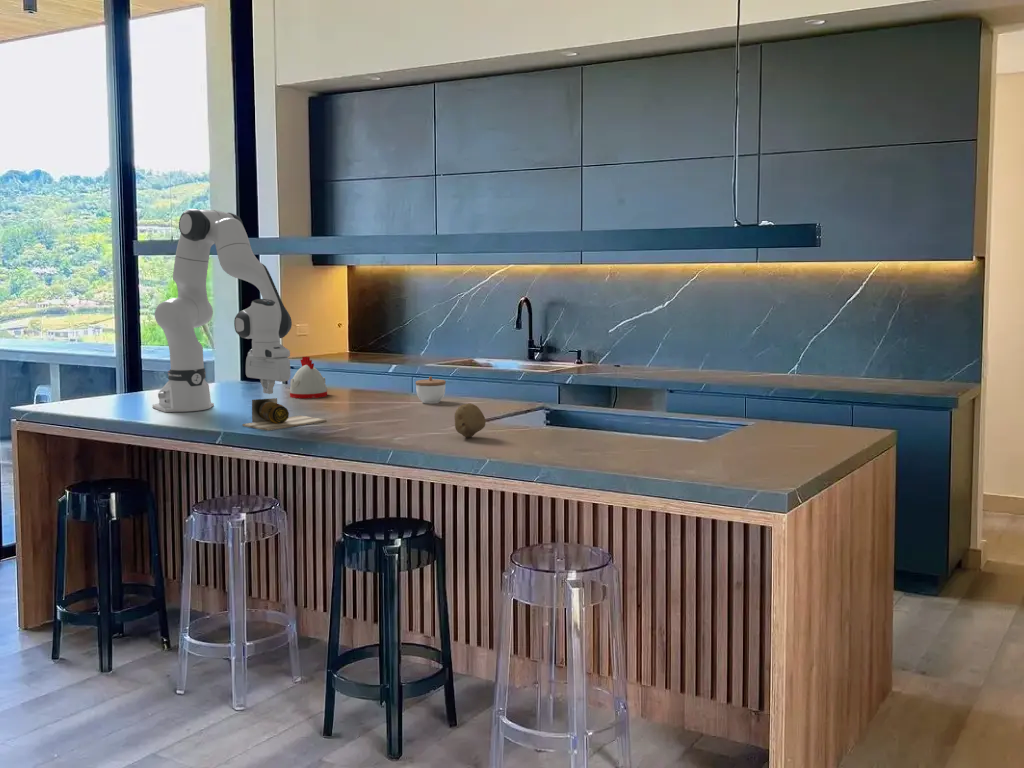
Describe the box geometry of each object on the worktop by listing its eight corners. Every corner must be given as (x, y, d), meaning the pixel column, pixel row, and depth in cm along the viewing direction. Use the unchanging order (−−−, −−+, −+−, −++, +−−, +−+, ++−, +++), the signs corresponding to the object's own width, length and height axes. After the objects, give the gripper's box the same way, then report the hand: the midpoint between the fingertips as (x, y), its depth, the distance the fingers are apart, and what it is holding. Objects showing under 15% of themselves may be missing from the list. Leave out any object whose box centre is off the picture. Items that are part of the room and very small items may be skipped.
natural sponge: (489, 435, 306) (488, 401, 304) (481, 440, 297) (480, 406, 296) (459, 434, 308) (458, 401, 306) (450, 439, 299) (449, 405, 298)
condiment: (277, 420, 338) (291, 425, 328) (251, 422, 333) (265, 427, 324) (276, 398, 337) (291, 402, 328) (251, 399, 333) (265, 403, 323)
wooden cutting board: (242, 425, 328) (242, 424, 328) (300, 417, 344) (300, 415, 344) (268, 430, 319) (267, 428, 318) (326, 421, 334) (326, 419, 334)
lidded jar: (449, 400, 378) (448, 374, 377) (442, 404, 368) (441, 378, 367) (420, 400, 380) (419, 374, 379) (412, 404, 370) (411, 378, 369)
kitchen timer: (314, 392, 405) (313, 354, 404) (334, 395, 395) (332, 356, 393) (283, 396, 396) (281, 356, 394) (302, 399, 386) (300, 359, 384)
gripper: (239, 349, 337) (241, 391, 339) (276, 353, 323) (278, 397, 325) (256, 347, 342) (258, 389, 343) (293, 351, 328) (294, 395, 330)
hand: (268, 393), depth 334 cm, fingers closed
